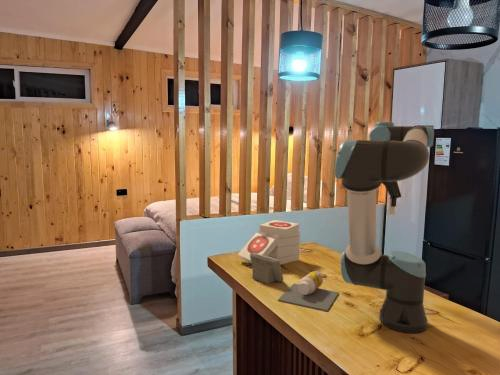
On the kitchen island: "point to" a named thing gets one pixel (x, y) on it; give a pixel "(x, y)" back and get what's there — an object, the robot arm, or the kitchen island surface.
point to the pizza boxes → (274, 242)
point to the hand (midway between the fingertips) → (378, 211)
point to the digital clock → (266, 268)
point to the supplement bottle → (310, 283)
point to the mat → (310, 298)
